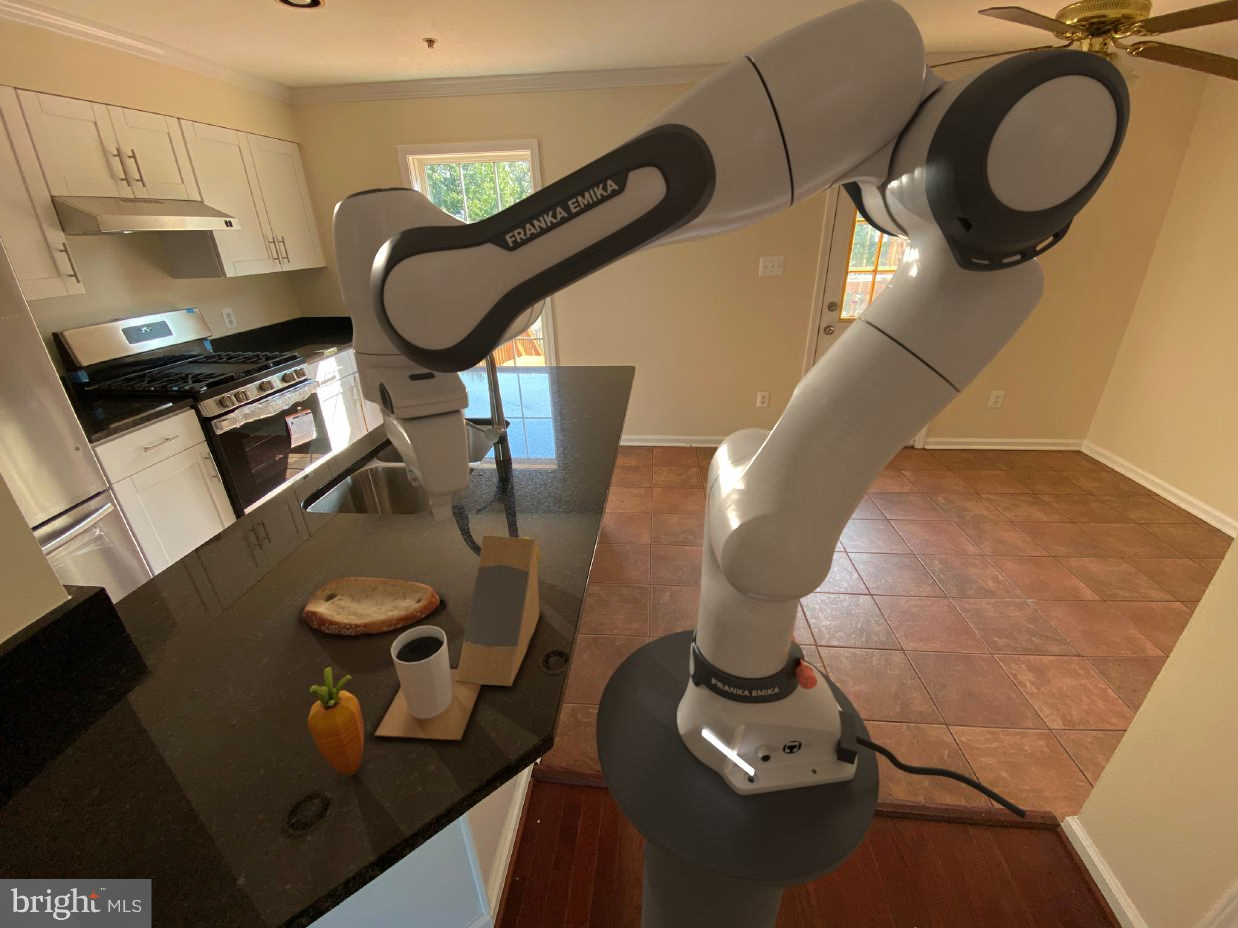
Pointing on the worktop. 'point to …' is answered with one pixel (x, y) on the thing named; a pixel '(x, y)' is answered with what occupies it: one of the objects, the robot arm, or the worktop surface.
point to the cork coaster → (437, 727)
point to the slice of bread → (368, 605)
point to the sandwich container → (500, 611)
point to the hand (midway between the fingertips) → (429, 499)
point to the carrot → (337, 725)
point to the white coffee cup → (423, 670)
